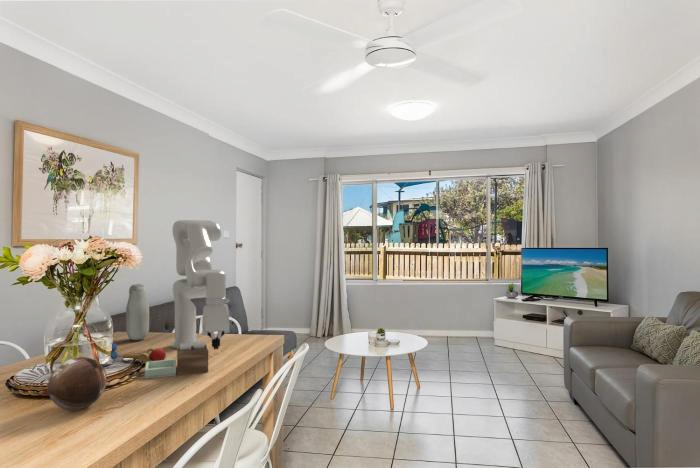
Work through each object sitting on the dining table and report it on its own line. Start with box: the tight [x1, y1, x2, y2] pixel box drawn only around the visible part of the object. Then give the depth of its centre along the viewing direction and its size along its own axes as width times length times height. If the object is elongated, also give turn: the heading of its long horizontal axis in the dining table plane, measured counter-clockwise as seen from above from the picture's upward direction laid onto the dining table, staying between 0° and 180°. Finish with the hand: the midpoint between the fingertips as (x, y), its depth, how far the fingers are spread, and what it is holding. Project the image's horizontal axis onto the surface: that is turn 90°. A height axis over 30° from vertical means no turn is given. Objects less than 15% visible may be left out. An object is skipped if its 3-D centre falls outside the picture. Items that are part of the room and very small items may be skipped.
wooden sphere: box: [47, 356, 108, 411], centre depth 133 cm, size 15×15×15 cm
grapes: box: [111, 342, 119, 360], centre depth 178 cm, size 12×7×12 cm, turn 87°
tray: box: [144, 358, 177, 380], centre depth 168 cm, size 12×11×3 cm
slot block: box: [176, 343, 209, 376], centre depth 173 cm, size 12×11×8 cm
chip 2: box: [193, 340, 206, 350], centre depth 174 cm, size 4×4×4 cm
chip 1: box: [180, 342, 191, 351], centre depth 172 cm, size 4×4×4 cm
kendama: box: [122, 347, 167, 366], centre depth 182 cm, size 8×6×18 cm
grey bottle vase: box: [125, 283, 150, 341], centre depth 223 cm, size 10×10×28 cm
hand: (215, 348), depth 176 cm, fingers closed
